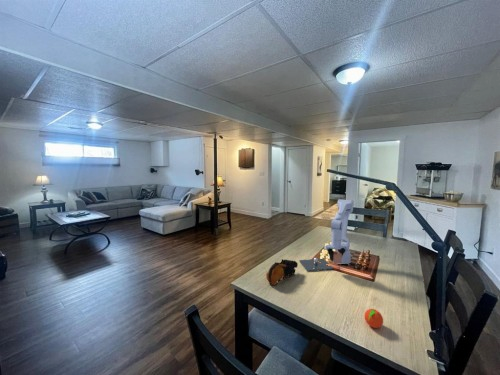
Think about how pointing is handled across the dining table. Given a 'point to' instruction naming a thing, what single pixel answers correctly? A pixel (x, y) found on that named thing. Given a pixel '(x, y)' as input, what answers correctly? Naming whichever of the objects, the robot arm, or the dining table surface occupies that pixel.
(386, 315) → the dining table surface
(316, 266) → the stand
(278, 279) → the tool
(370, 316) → the clementine
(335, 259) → the collar
